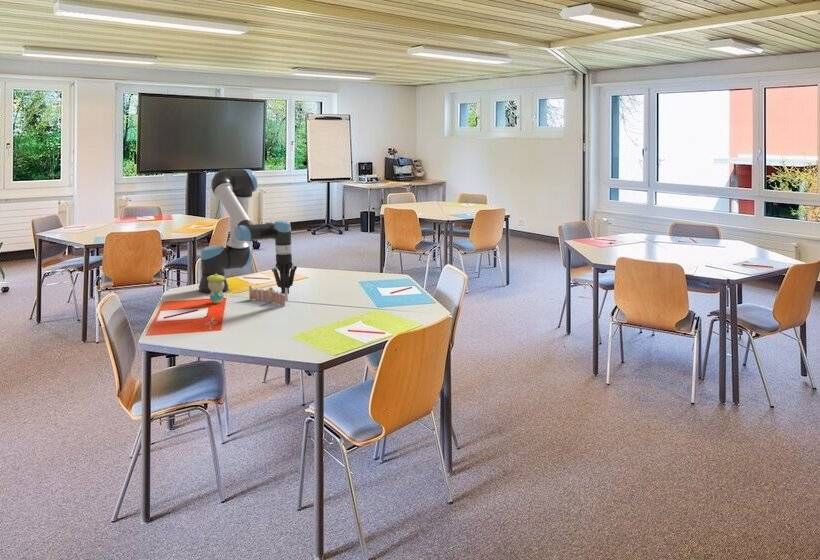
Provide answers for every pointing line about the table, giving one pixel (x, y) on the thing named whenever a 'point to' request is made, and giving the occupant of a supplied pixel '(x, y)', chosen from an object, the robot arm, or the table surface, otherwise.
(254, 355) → the table surface
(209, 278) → the toy
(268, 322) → the table surface
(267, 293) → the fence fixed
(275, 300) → the fence wing
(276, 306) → the card
